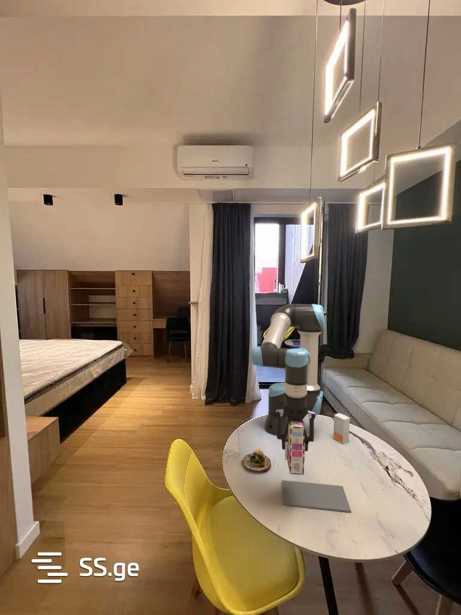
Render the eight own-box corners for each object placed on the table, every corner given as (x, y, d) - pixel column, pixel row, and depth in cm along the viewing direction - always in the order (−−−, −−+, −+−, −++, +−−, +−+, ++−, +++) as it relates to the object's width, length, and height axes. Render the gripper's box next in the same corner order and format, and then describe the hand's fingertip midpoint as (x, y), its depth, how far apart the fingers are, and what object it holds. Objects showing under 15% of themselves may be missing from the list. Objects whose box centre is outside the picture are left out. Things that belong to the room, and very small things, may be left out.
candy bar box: (305, 475, 97) (305, 427, 96) (289, 475, 97) (289, 427, 96) (299, 455, 108) (299, 413, 107) (285, 455, 109) (285, 412, 107)
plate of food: (236, 462, 123) (236, 445, 122) (258, 453, 129) (258, 437, 129) (254, 478, 113) (254, 460, 112) (277, 468, 119) (277, 450, 119)
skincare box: (332, 438, 142) (333, 414, 141) (339, 436, 144) (339, 412, 143) (343, 444, 136) (344, 419, 135) (349, 442, 138) (350, 417, 137)
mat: (281, 481, 111) (281, 480, 111) (342, 487, 107) (342, 485, 107) (283, 505, 99) (283, 503, 99) (351, 512, 96) (351, 511, 96)
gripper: (269, 396, 99) (268, 462, 101) (324, 400, 96) (323, 467, 98) (269, 389, 106) (268, 450, 108) (321, 391, 104) (319, 454, 105)
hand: (294, 458), depth 103 cm, fingers closed on candy bar box, 5 cm apart
